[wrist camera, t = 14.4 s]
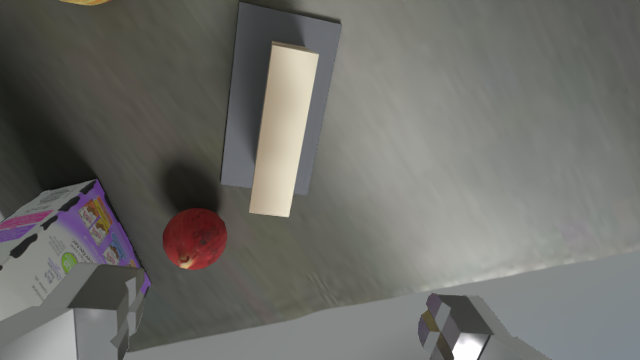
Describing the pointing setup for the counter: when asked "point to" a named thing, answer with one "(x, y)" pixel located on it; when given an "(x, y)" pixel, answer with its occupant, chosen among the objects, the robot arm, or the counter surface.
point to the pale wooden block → (282, 127)
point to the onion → (194, 238)
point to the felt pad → (250, 85)
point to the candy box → (58, 243)
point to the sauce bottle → (87, 1)
